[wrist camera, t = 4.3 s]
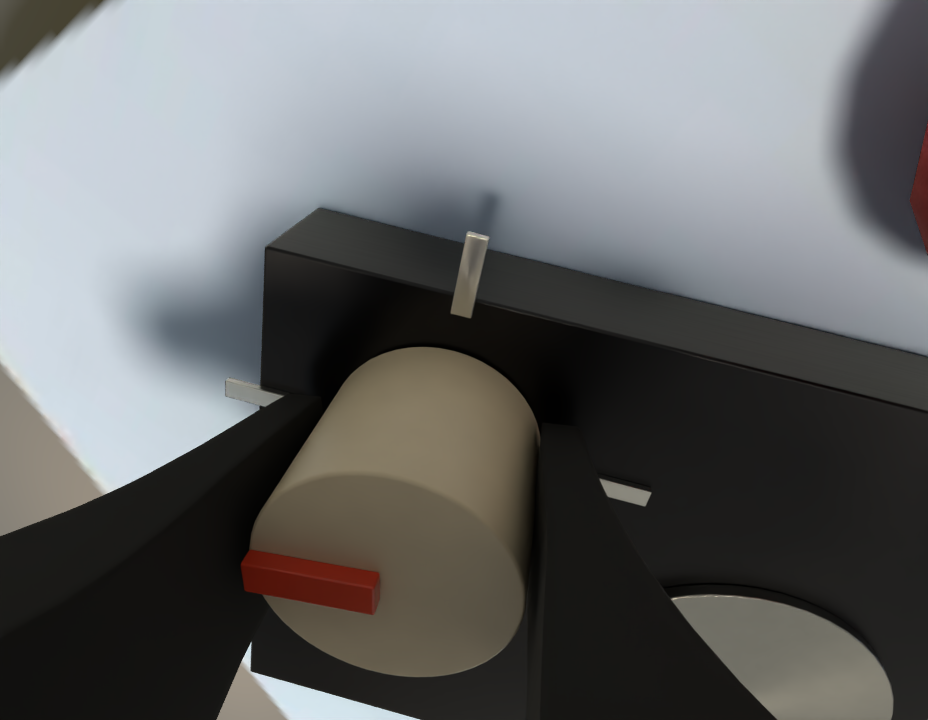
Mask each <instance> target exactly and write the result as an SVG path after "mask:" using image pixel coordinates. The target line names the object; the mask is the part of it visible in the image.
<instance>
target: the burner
mask: <svg viewBox="0 0 928 720" xmlns="http://www.w3.org/2000/svg"><path fill="white" fill-rule="evenodd" d="M663 589H664V590H665V592H666V593H667V595H668V596H669V597H670V599H671V600H672V601H673V603H674V604H675V605H676V607H677V608H678V609H679V610H680V612H681V613H682V614H683V616H684V617H685V618H686V619H687V621H688V622H689V623H690V625H691V626H692V627H693V628H694V630H695V631H696V632H697V633H698V634H699V635H700V637H701V638H702V639H703V640H704V641H705V642H706V643H707V645H708V646H709V647H710V648H711V649H712V650H713V651H714V653H715V654H716V655H717V656H718V657H719V658H720V659H721V661H722V662H723V663H724V664H725V665H726V666H727V667H728V669H729V670H730V671H731V672H732V673H733V674H734V675H735V676H736V678H737V679H738V680H739V681H740V682H741V683H742V684H743V685H744V686H745V687H746V688H747V689H748V690H749V691H750V692H751V693H752V694H753V695H754V697H755V698H756V699H757V700H758V701H759V702H760V703H761V704H762V705H763V706H764V707H765V708H766V709H767V710H768V711H769V712H770V713H771V714H772V715H773V716H774V717H775V718H776V719H777V720H891V718H892V715H893V701H894V698H893V693H892V687H891V683H890V681H889V678H888V676H887V674H886V671H885V669H884V667H883V665H882V662H881V660H880V659H879V657H878V656H877V654H876V653H875V651H874V650H873V648H872V647H871V646H870V644H869V643H868V642H867V641H866V640H865V639H864V638H863V637H862V636H861V635H860V634H859V633H858V632H857V631H855V630H854V629H853V628H851V627H850V626H849V625H848V624H846V623H845V622H844V621H842V620H841V619H839V618H837V617H836V616H834V615H832V614H831V613H829V612H827V611H825V610H824V609H822V608H819V607H817V606H815V605H812V604H810V603H808V602H806V601H803V600H800V599H797V598H794V597H791V596H788V595H785V594H782V593H778V592H773V591H768V590H764V589H759V588H753V587H745V586H737V585H719V584H700V585H683V586H676V587H669V588H663Z"/></svg>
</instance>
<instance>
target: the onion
mask: <svg viewBox="0 0 928 720" xmlns="http://www.w3.org/2000/svg"><path fill="white" fill-rule="evenodd" d="M910 203H911V206H912V209H913V213H914V216H915V219H916V222H917V225H918V228H919V231H920V234H921V237H922V240H923V243H924V246H925V249H926V252H927V255H928V123H927V127H926V132H925V136H924V140H923V145H922V149H921V153H920V158H919V162H918V166H917V171H916V175H915V179H914V184H913V188H912V192H911V197H910Z"/></svg>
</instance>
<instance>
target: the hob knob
mask: <svg viewBox="0 0 928 720" xmlns="http://www.w3.org/2000/svg"><path fill="white" fill-rule="evenodd" d="M539 448H540V433H539V429H538V425H537V422H536V419H535V417H534V414H533V412H532V410H531V408H530V407H529V405H528V403H527V402H526V400H525V398H524V397H523V396H522V395H521V393H520V392H519V391H518V390H517V388H516V387H515V386H514V385H513V384H512V383H511V382H510V381H509V380H508V379H507V378H505V377H504V376H503V375H501V374H500V373H499V372H498V371H496V370H495V369H493V368H492V367H490V366H488V365H487V364H485V363H483V362H482V361H479V360H477V359H475V358H473V357H470V356H468V355H465V354H462V353H459V352H456V351H452V350H447V349H442V348H433V347H410V348H404V349H398V350H394V351H390V352H387V353H384V354H381V355H379V356H377V357H375V358H372V359H370V360H369V361H367V362H366V363H364V364H363V365H361V366H360V367H359V368H357V369H356V370H355V371H354V372H353V373H352V374H351V375H350V376H349V377H348V378H347V380H346V381H345V382H344V383H343V385H342V386H341V388H340V390H339V391H338V393H337V394H336V396H335V397H334V399H333V400H332V402H331V403H330V405H329V406H328V408H327V409H326V411H325V413H324V414H323V416H322V417H321V419H320V420H319V422H318V423H317V425H316V426H315V428H314V429H313V431H312V433H311V434H310V436H309V437H308V439H307V440H306V442H305V443H304V445H303V446H302V448H301V449H300V451H299V453H298V454H297V456H296V457H295V459H294V460H293V462H292V463H291V465H290V466H289V468H288V469H287V471H286V472H285V474H284V476H283V477H282V479H281V480H280V482H279V483H278V485H277V486H276V488H275V489H274V491H273V492H272V494H271V496H270V497H269V499H268V500H267V502H266V503H265V505H264V506H263V508H262V509H261V511H260V513H259V515H258V517H257V518H256V520H255V523H254V526H253V529H252V532H251V538H250V547H249V551H248V553H247V554H246V556H245V557H244V559H243V561H242V562H241V565H240V566H241V573H242V579H243V585H244V590H245V591H246V592H252V593H257V594H262V595H263V596H264V598H265V600H266V601H267V602H268V604H269V605H270V607H271V608H272V609H273V611H274V612H275V613H276V614H277V615H278V616H279V617H280V618H281V620H282V621H283V622H284V623H285V624H286V625H288V626H289V627H290V628H291V629H292V630H293V631H294V632H295V633H297V634H298V635H299V636H301V637H302V638H303V639H305V640H306V641H307V642H309V643H310V644H312V645H314V646H315V647H317V648H318V649H320V650H322V651H324V652H326V653H327V654H329V655H331V656H333V657H335V658H337V659H340V660H342V661H345V662H347V663H349V664H352V665H355V666H358V667H361V668H364V669H367V670H371V671H375V672H380V673H384V674H390V675H397V676H407V677H434V676H443V675H449V674H454V673H458V672H462V671H465V670H468V669H471V668H474V667H476V666H478V665H480V664H482V663H484V662H486V661H488V660H490V659H491V658H493V657H494V656H495V655H497V654H498V653H499V652H501V651H502V650H503V649H504V648H505V647H506V646H507V645H508V644H509V642H510V641H511V640H512V638H513V637H514V636H515V634H516V633H517V631H518V629H519V627H520V625H521V623H522V621H523V617H524V613H525V610H526V601H527V591H528V581H529V570H530V560H531V549H532V539H533V529H534V516H535V487H536V477H537V468H538V458H539Z"/></svg>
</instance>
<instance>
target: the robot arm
mask: <svg viewBox="0 0 928 720" xmlns="http://www.w3.org/2000/svg"><path fill="white" fill-rule="evenodd" d="M322 416H323V411H322V401H321V397H318V396H310V395H301V394H292V393H289V394H287V395H285V396H283V397H281V398H279V399H278V400H276V401H274V402H272V403H271V404H269V405H267V406H265V407H264V408H262V409H260V410H259V411H257V412H255V413H254V414H252V415H250V416H249V417H247V418H246V419H244V420H242V421H241V422H239V423H237V424H236V425H234V426H232V427H231V428H229V429H227V430H225V431H224V432H222V433H220V434H219V435H217V436H215V437H214V438H212V439H210V440H209V441H207V442H205V443H204V444H202V445H200V446H198V447H197V448H195V449H193V450H191V451H189V452H188V453H186V454H184V455H182V456H180V457H178V458H176V459H175V460H173V461H171V462H169V463H167V464H165V465H164V466H162V467H160V468H158V469H156V470H154V471H152V472H151V473H149V474H147V475H145V476H143V477H141V478H139V479H137V480H135V481H133V482H131V483H129V484H127V485H125V486H123V487H121V488H118V489H116V490H114V491H112V492H110V493H108V494H105V495H103V496H101V497H99V498H96V499H94V500H92V501H90V502H87V503H85V504H83V505H81V506H78V507H76V508H73V509H71V510H69V511H66V512H64V513H61V514H58V515H56V516H53V517H51V518H48V519H45V520H42V521H40V522H37V523H34V524H32V525H29V526H27V527H24V528H21V529H19V530H16V531H13V532H11V533H8V534H6V535H3V536H0V720H216V719H217V717H218V715H219V712H220V710H221V707H222V705H223V703H224V701H225V698H226V696H227V694H228V691H229V689H230V686H231V684H232V682H233V680H234V677H235V675H236V673H237V670H238V668H239V665H240V663H241V661H242V659H243V657H244V655H245V653H246V651H247V649H248V647H249V645H250V643H251V641H252V639H253V637H254V635H255V633H256V632H257V630H258V628H259V626H260V624H261V623H262V621H263V619H264V617H265V615H266V614H267V612H268V610H269V608H270V605H269V604H268V602H267V601H266V600H265V598H264V596H263V595H262V594H257V593H252V592H246V591H245V590H244V585H243V579H242V573H241V566H240V565H241V562H242V561H243V559H244V557H245V556H246V554H247V553H248V551H249V547H250V538H251V532H252V529H253V526H254V523H255V520H256V518H257V517H258V515H259V513H260V511H261V509H262V508H263V506H264V505H265V503H266V502H267V500H268V499H269V497H270V496H271V494H272V492H273V491H274V489H275V488H276V486H277V485H278V483H279V482H280V480H281V479H282V477H283V476H284V474H285V472H286V471H287V469H288V468H289V466H290V465H291V463H292V462H293V460H294V459H295V457H296V456H297V454H298V453H299V451H300V449H301V448H302V446H303V445H304V443H305V442H306V440H307V439H308V437H309V436H310V434H311V433H312V431H313V429H314V428H315V426H316V425H317V423H318V422H319V420H320V419H321V417H322ZM526 720H777V719H776V718H775V717H774V716H773V715H772V714H771V713H770V712H769V711H768V710H767V709H766V708H765V707H764V706H763V705H762V704H761V703H760V702H759V701H758V700H757V699H756V698H755V697H754V695H753V694H752V693H751V692H750V691H749V690H748V689H747V688H746V687H745V686H744V685H743V684H742V683H741V682H740V681H739V680H738V679H737V678H736V676H735V675H734V674H733V673H732V672H731V671H730V670H729V669H728V667H727V666H726V665H725V664H724V663H723V662H722V661H721V659H720V658H719V657H718V656H717V655H716V654H715V653H714V651H713V650H712V649H711V648H710V647H709V646H708V645H707V643H706V642H705V641H704V640H703V639H702V638H701V637H700V635H699V634H698V633H697V632H696V631H695V630H694V628H693V627H692V626H691V625H690V623H689V622H688V621H687V619H686V618H685V617H684V616H683V614H682V613H681V612H680V610H679V609H678V608H677V607H676V605H675V604H674V603H673V601H672V600H671V599H670V597H669V596H668V595H667V593H666V592H665V590H664V589H663V588H662V586H661V585H660V583H659V582H658V581H657V579H656V578H655V576H654V575H653V573H652V572H651V570H650V569H649V567H648V566H647V564H646V563H645V561H644V560H643V558H642V557H641V555H640V554H639V552H638V550H637V549H636V547H635V545H634V544H633V542H632V540H631V539H630V537H629V535H628V534H627V532H626V530H625V528H624V527H623V525H622V523H621V521H620V519H619V518H618V516H617V514H616V512H615V510H614V508H613V506H612V504H611V502H610V500H609V498H608V496H607V494H606V492H605V490H604V488H603V486H602V484H601V482H600V479H599V477H598V475H597V472H596V470H595V468H594V465H593V463H592V460H591V458H590V455H589V452H588V449H587V446H586V443H585V440H584V436H583V433H582V431H581V430H580V429H579V428H578V427H577V426H568V425H559V424H551V423H542V429H541V439H540V448H539V458H538V468H537V477H536V487H535V516H534V529H533V539H532V549H531V560H530V570H529V581H528V591H527V708H526Z"/></svg>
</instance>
